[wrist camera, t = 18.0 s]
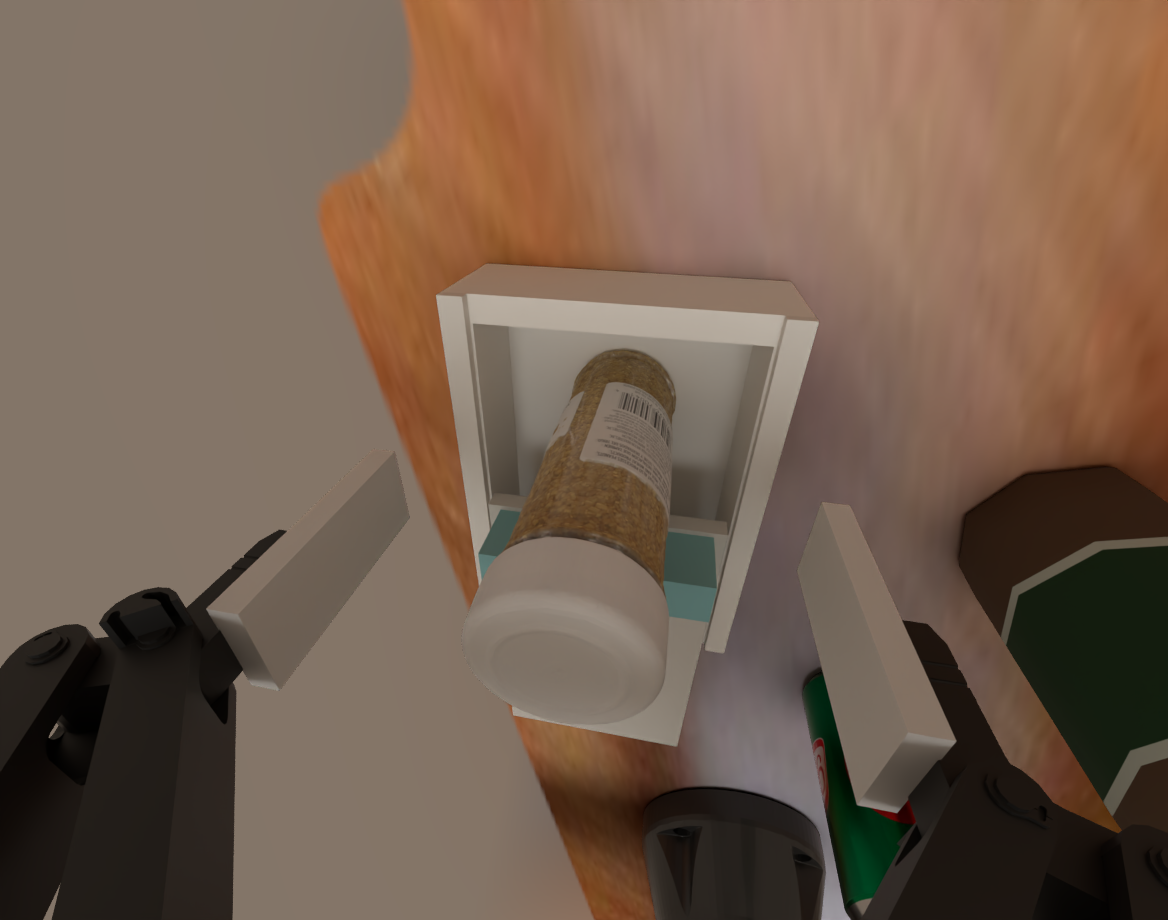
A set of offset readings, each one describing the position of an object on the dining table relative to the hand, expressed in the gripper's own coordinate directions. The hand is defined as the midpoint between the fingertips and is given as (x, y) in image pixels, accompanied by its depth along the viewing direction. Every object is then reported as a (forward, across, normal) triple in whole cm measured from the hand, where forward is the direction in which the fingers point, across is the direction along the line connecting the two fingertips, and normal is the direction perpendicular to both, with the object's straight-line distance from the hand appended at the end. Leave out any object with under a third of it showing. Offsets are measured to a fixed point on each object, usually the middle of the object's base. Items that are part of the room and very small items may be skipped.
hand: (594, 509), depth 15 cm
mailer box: (+8, 0, +3) cm, 9 cm away
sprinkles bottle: (+8, 0, 0) cm, 8 cm away
